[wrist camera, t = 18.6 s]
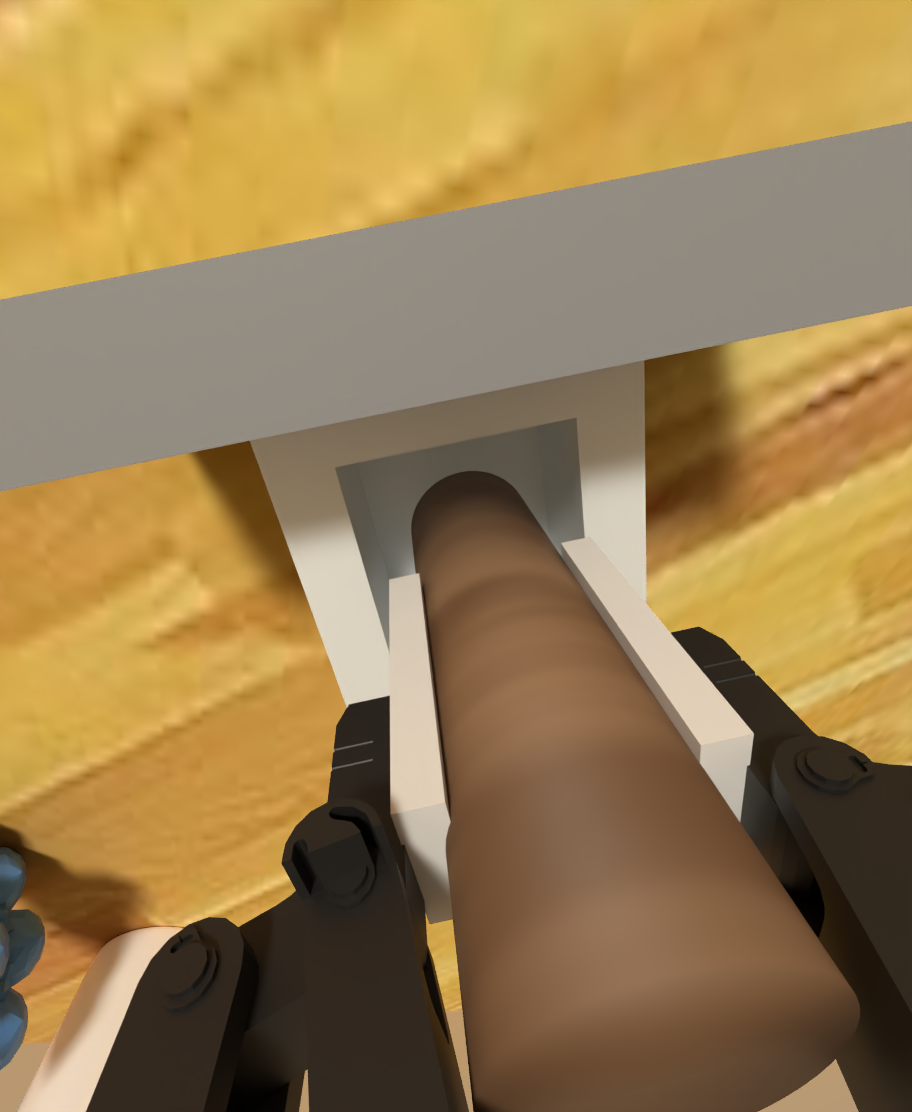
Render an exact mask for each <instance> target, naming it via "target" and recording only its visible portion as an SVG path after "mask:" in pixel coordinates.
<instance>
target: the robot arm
mask: <svg viewBox="0 0 912 1112" xmlns="http://www.w3.org/2000/svg"><path fill="white" fill-rule="evenodd" d="M561 550H562V558H563V560H564V561H565V563H566V564H567V566H568V567H569V569H570V570H571V572H572V573H573V575H574V576H575V578H576V579H577V581H578V582H579V584H580V585H581V587H582V588H583V590H584V591H585V593H586V594H587V596H588V597H589V599H590V600H591V602H592V603H593V605H594V606H595V608H596V609H597V611H598V612H599V614H600V615H601V617H602V618H603V620H604V621H605V623H606V624H607V626H608V627H609V629H610V630H611V632H612V633H613V635H614V636H615V638H616V639H617V640H618V642H619V643H620V645H621V646H622V648H623V649H624V651H625V652H626V654H627V655H628V657H629V658H630V660H631V661H632V663H633V664H634V666H635V667H636V669H637V670H638V672H639V673H640V675H641V676H642V678H643V679H644V681H645V682H646V684H647V685H648V687H649V688H650V690H651V691H652V693H653V694H654V696H655V697H656V699H657V700H658V702H659V703H660V705H661V706H662V708H663V709H664V711H665V712H666V714H667V715H668V717H669V718H670V720H671V721H672V723H673V724H674V726H675V727H676V728H677V730H678V731H679V733H680V734H681V736H682V737H683V739H684V740H685V742H686V743H687V745H688V746H689V748H690V749H691V751H692V752H693V754H694V755H695V757H696V758H697V760H698V761H699V763H700V764H701V766H702V767H703V768H704V770H705V771H706V772H707V774H708V775H709V777H710V778H711V780H712V781H713V783H714V784H715V786H716V787H717V789H718V790H719V792H720V793H721V795H722V796H723V798H724V799H725V801H726V802H727V804H728V805H729V807H730V808H731V810H732V811H733V813H734V814H735V816H736V817H737V819H738V820H739V822H740V823H741V825H742V826H743V828H744V829H745V830H746V832H747V833H748V835H749V836H750V838H751V839H752V841H753V842H754V844H755V845H756V847H757V848H758V850H759V851H760V853H761V854H762V856H763V857H764V859H765V860H766V862H767V863H768V865H769V866H770V868H771V869H772V871H773V872H774V874H775V875H776V877H777V878H778V880H779V881H780V883H781V884H782V886H783V887H784V889H785V890H786V891H787V893H788V894H789V896H790V897H791V899H792V900H793V902H794V903H795V905H796V906H797V908H798V909H799V911H800V912H801V914H802V915H803V917H804V918H805V920H806V921H807V923H808V924H809V926H810V927H811V929H812V930H813V932H814V933H815V935H816V936H817V938H818V939H819V941H820V942H821V944H822V945H823V947H824V948H825V950H826V951H827V953H828V954H829V955H830V957H831V958H832V960H833V961H834V963H835V964H836V966H837V967H838V969H839V970H840V972H841V973H842V975H843V976H844V978H845V979H846V981H847V982H848V984H849V985H850V987H851V988H852V990H853V991H854V993H855V994H856V996H857V999H858V1002H859V1004H860V1019H859V1023H858V1026H857V1029H856V1031H855V1033H854V1035H853V1037H852V1039H851V1041H850V1042H849V1043H848V1045H847V1046H846V1047H845V1049H844V1050H843V1051H842V1053H841V1054H840V1055H839V1056H838V1057H837V1058H836V1060H837V1063H838V1065H839V1067H840V1070H841V1072H842V1074H843V1076H844V1079H845V1081H846V1083H847V1086H848V1088H849V1090H850V1092H851V1095H852V1097H853V1099H854V1102H855V1104H856V1106H857V1109H858V1111H859V1112H912V766H905V765H889V764H882V763H875V762H872V761H871V760H870V759H869V758H868V757H867V756H866V755H865V754H863V753H861V752H859V751H858V750H856V749H854V748H852V747H851V746H849V745H847V744H845V743H842V742H839V741H836V740H833V739H829V738H826V737H821V736H817V735H816V734H815V733H814V732H812V730H811V729H810V728H809V727H808V726H807V725H806V724H805V723H804V722H803V721H802V720H801V719H800V718H799V717H798V716H797V715H796V714H795V713H794V712H793V711H792V710H791V709H790V708H789V707H788V706H787V705H786V704H785V703H784V702H783V701H782V700H781V698H780V697H779V696H778V695H777V694H776V693H775V692H774V691H773V690H772V689H771V688H770V687H769V686H768V685H767V684H766V683H765V682H764V681H763V680H762V679H761V678H760V677H759V676H756V675H755V672H754V671H753V670H752V669H751V668H750V666H749V665H748V664H747V663H746V662H745V661H742V660H741V658H740V656H739V655H738V654H737V653H736V652H735V651H734V650H733V649H732V648H731V647H730V646H729V645H728V644H727V643H726V642H725V641H724V640H723V639H721V638H720V637H718V636H716V635H714V634H712V633H710V632H708V631H706V630H704V629H702V628H701V627H695V628H690V629H686V630H681V631H677V632H672V633H670V632H669V631H668V630H667V628H666V627H665V626H664V625H663V624H662V622H661V621H660V620H659V619H658V618H657V616H656V615H655V614H654V613H653V612H652V610H651V609H650V608H649V607H648V605H647V604H646V603H645V602H644V601H643V599H642V598H641V597H640V596H639V595H638V593H637V592H636V591H635V590H634V589H633V587H632V586H631V585H630V584H629V583H628V581H627V580H626V579H625V578H624V577H623V575H622V574H621V573H620V572H619V571H618V569H617V568H616V567H615V566H614V565H613V563H612V562H611V561H610V560H609V559H608V557H607V556H606V555H605V554H604V553H603V551H602V550H601V549H600V548H599V547H598V545H597V544H596V543H595V542H594V541H593V539H592V538H591V537H587V538H583V539H578V540H573V541H568V542H564V543H561ZM389 642H390V696H385V697H381V698H376V699H371V700H367V701H362V702H358V703H353V704H349V705H348V707H347V709H346V710H345V712H344V714H343V716H342V717H341V719H340V721H339V722H338V724H337V726H336V735H335V743H334V750H335V752H333V760H332V771H331V777H330V786H329V794H328V802H327V803H326V804H324V805H322V806H320V807H318V808H316V809H315V810H313V811H311V812H310V813H309V814H308V815H307V816H306V817H305V818H304V819H303V820H302V821H301V822H300V823H299V824H297V825H296V827H295V828H294V830H293V832H292V833H291V835H290V837H289V839H288V840H287V842H286V844H285V848H284V853H283V858H282V865H283V867H284V869H285V871H286V872H287V874H288V876H289V878H290V880H291V882H292V883H293V885H294V887H295V889H296V891H295V892H294V893H293V894H292V895H291V896H290V897H288V898H287V899H285V900H284V901H282V902H281V903H279V904H278V905H276V906H275V907H273V908H271V909H269V910H268V911H266V912H264V913H262V914H261V915H259V916H257V917H255V918H254V919H252V920H250V921H248V922H247V923H245V924H243V925H241V926H240V927H237V926H236V925H234V924H233V923H232V922H230V921H229V920H228V919H226V918H213V917H208V918H205V919H203V920H200V921H197V922H194V923H192V924H189V925H188V926H186V927H185V928H183V929H182V930H181V931H179V932H178V933H177V934H175V935H174V936H172V937H171V938H170V939H169V940H168V941H167V942H166V943H165V944H164V945H163V946H162V947H161V949H160V950H159V951H158V952H157V953H156V954H155V955H154V957H153V958H152V959H151V960H150V962H149V964H148V966H147V968H146V969H145V971H144V973H143V975H142V977H141V978H140V980H139V982H138V984H137V987H136V989H135V992H134V994H133V997H132V999H131V1002H130V1004H129V1006H128V1009H127V1011H126V1014H125V1016H124V1019H123V1021H122V1024H121V1026H120V1029H119V1031H118V1034H117V1036H116V1038H115V1041H114V1043H113V1046H112V1048H111V1051H110V1053H109V1056H108V1058H107V1061H106V1063H105V1066H104V1068H103V1071H102V1073H101V1075H100V1078H99V1080H98V1083H97V1085H96V1088H95V1090H94V1093H93V1095H92V1098H91V1100H90V1103H89V1105H88V1108H87V1110H86V1112H299V1107H300V1100H301V1094H302V1087H303V1079H304V1073H305V1070H307V1069H308V1089H309V1112H469V1110H468V1105H467V1101H466V1097H465V1093H464V1089H463V1085H462V1080H461V1076H460V1072H459V1067H458V1063H457V1059H456V1055H455V1051H454V1047H453V1042H452V1038H451V1034H450V1030H449V1025H448V1022H447V1017H446V1013H445V1008H444V1004H443V1000H442V996H441V991H440V987H439V983H438V979H437V975H436V970H435V966H434V962H433V958H432V956H431V953H430V950H429V948H428V945H427V933H426V916H425V912H426V915H427V918H428V920H429V923H430V924H434V923H438V922H442V921H447V920H451V919H453V916H452V907H451V897H450V888H449V879H448V869H447V860H446V837H447V832H448V828H449V825H450V823H451V821H450V812H449V804H448V796H447V787H446V779H445V771H444V762H443V754H442V746H441V737H440V729H439V721H438V712H437V704H436V696H435V688H434V679H433V671H432V663H431V654H430V646H429V638H428V629H427V621H426V613H425V604H424V596H423V588H422V583H421V579H420V575H419V573H418V574H413V575H408V576H403V577H399V578H394V579H389Z"/></svg>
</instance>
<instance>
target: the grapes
mask: <svg viewBox="0 0 912 1112" xmlns="http://www.w3.org/2000/svg"><path fill="white" fill-rule="evenodd" d="M26 875H27V873H26V865H25V863H24V861H23V859H22V857H21V855H19V854H18V853H16V852H15V851H13V850H12V849H10V848H0V1070H1V1069H2V1068H3V1067H5V1066H6V1065H7V1064H8V1063H9V1062H10V1061H11V1060H12V1058H13V1057H14V1055H15V1054H16V1052H17V1050H18V1049H19V1047H20V1046H21V1044H22V1042H23V1039H24V1036H25V1032H26V1029H27V1023H28V1011H27V1006H26V1004H25V1001H24V999H23V996H22V995H21V994H20V993H18V992H17V991H15V990H14V989H12V988H11V987H12V986H14V985H15V984H17V983H18V982H19V981H21V980H22V979H24V978H25V977H26V976H28V975H29V974H30V973H31V971H32V970H33V968H34V967H35V965H36V964H37V962H38V961H39V959H40V957H41V954H42V951H43V947H44V944H45V931H44V926H43V923H42V921H41V919H40V917H39V916H38V915H36V914H35V913H33V912H32V911H30V910H29V909H27V910H11V909H12V907H13V906H14V905H15V903H16V902H17V901H18V899H19V898H20V897H21V895H22V892H23V889H24V885H25V882H26Z"/></svg>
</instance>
